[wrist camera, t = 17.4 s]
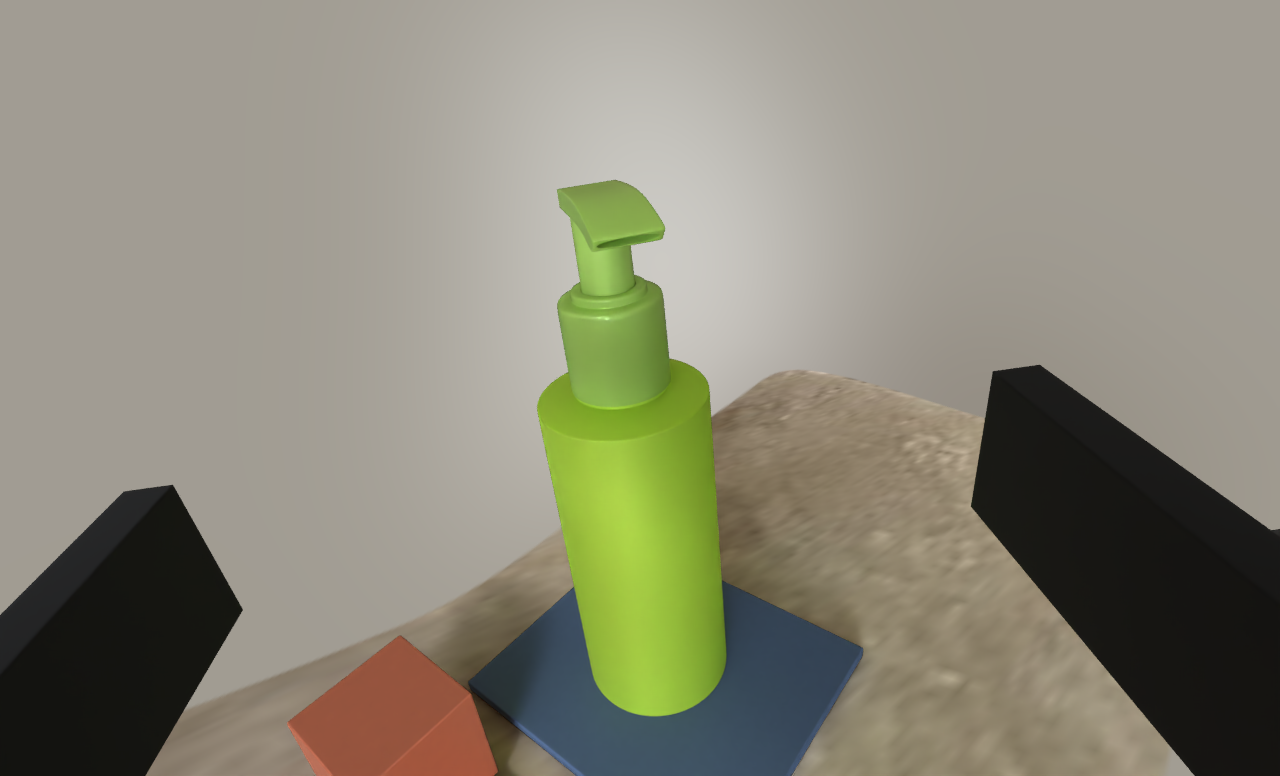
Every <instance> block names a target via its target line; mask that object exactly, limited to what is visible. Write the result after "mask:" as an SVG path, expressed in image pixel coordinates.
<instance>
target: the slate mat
mask: <svg viewBox="0 0 1280 776" xmlns="http://www.w3.org/2000/svg"><path fill="white" fill-rule="evenodd" d="M722 593H723V608H724V623H725V639H726V665H725V669H724V672H723V675H722V677H721V679H720V681H719V683H718V684H717V686H716V687H715V689H714V690H713V691H712V692H711V693H710V694H709V695H708V696H707V697H706V698H705V699H704V700H702V701H701V702H700V703H698V704H697V705H695V706H693V707H691V708H689V709H687V710H685V711H682V712H679V713H676V714H672V715H666V716H643V715H638V714H634V713H631V712H628V711H626V710H623V709H621V708H619V707H618V706H616V705H615V704H613V703H612V702H611V701H609V700H608V699H607V698H606V697H605V696H604V695H603V693H602V692H601V691H600V689H599V688H598V686H597V684H596V682H595V680H594V677H593V674H592V669H591V664H590V660H589V655H588V650H587V645H586V640H585V636H584V631H583V626H582V621H581V617H580V612H579V607H578V602H577V598H576V593H575V588H574V587H573V588H572V589H571V590H570V591H569V592H568V593H567V594H566V595H564V596H563V597H562V598H561V599H560V600H559V601H558V602H557V603H555V604H554V605H553V606H552V607H551V608H550V609H549V610H548V611H547V612H545V613H544V614H543V615H542V616H541V617H540V618H539V619H538V620H537V621H535V622H534V623H533V624H532V625H531V626H530V627H529V628H528V629H527V630H525V631H524V632H523V633H522V634H521V635H520V636H519V637H518V638H517V639H515V640H514V641H513V642H512V643H511V644H510V645H509V646H508V647H506V648H505V649H504V650H503V651H502V652H501V653H500V654H499V655H498V656H496V657H495V658H494V659H493V660H492V661H491V662H490V663H489V664H488V665H486V666H485V667H484V668H483V669H482V670H481V671H480V672H479V673H478V674H476V675H475V676H474V677H473V678H472V679H471V680H470V681H469V682H468V683H469V686H470V689H471V690H472V691H473V692H475V693H476V694H477V695H478V696H479V697H481V698H482V699H483V700H484V701H486V702H487V703H488V704H489V705H490V706H492V707H493V708H494V709H495V710H497V711H498V712H499V713H500V714H501V715H503V716H504V717H505V718H506V719H508V720H509V721H510V722H511V723H512V724H514V725H515V726H516V727H517V728H519V729H520V730H521V731H522V732H524V733H525V734H526V735H527V736H528V737H530V738H531V739H532V740H533V741H535V742H536V743H537V744H538V745H539V746H541V747H542V748H543V749H544V750H546V751H547V752H548V753H549V754H550V755H552V756H553V757H554V758H555V759H557V760H558V761H559V762H560V763H561V764H563V765H564V766H565V767H566V768H568V769H569V770H570V771H571V772H573V773H574V774H575V775H576V776H791V775H792V774H793V772H794V770H795V768H796V767H797V765H798V763H799V762H800V760H801V758H802V757H803V755H804V753H805V752H806V750H807V748H808V747H809V745H810V743H811V742H812V740H813V738H814V737H815V735H816V733H817V731H818V730H819V728H820V726H821V725H822V723H823V721H824V720H825V718H826V716H827V715H828V713H829V711H830V710H831V708H832V706H833V705H834V703H835V701H836V700H837V698H838V696H839V694H840V693H841V691H842V689H843V688H844V686H845V684H846V683H847V681H848V679H849V678H850V676H851V674H852V673H853V671H854V669H855V668H856V666H857V664H858V662H859V661H860V659H861V657H862V656H863V648H862V647H860V646H858V645H856V644H854V643H851V642H849V641H847V640H845V639H843V638H841V637H839V636H837V635H835V634H833V633H831V632H829V631H826V630H824V629H822V628H820V627H818V626H816V625H814V624H812V623H810V622H808V621H806V620H803V619H801V618H799V617H797V616H795V615H793V614H791V613H789V612H787V611H785V610H783V609H781V608H778V607H776V606H774V605H772V604H770V603H768V602H766V601H764V600H762V599H760V598H758V597H755V596H753V595H751V594H749V593H747V592H745V591H743V590H741V589H739V588H737V587H735V586H733V585H730V584H728V583H726V582H724V581H722Z"/></svg>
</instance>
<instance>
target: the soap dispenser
mask: <svg viewBox="0 0 1280 776" xmlns="http://www.w3.org/2000/svg"><path fill="white" fill-rule="evenodd" d="M557 193H558V199H559V205H560V208H561V209H562V210H563V211H564V212H565V213H566V214H567V215H568V216H569V217H570V220H571V227H572V233H573V239H574V246H575V252H576V259H577V265H578V271H579V277H580V282H579V283H578V284H576V285H575V286H573V288H572V289H571V290H570V291H568V292H566V293H565V294H564V295H562V297H561V298H560V299H559V301H558V304H557V309H558V316H559V322H560V327H561V333H562V339H563V344H564V350H565V355H566V360H567V366H568V373H566V374H564V375H562V376H561V377H559V378H558V379H556V380H555V381H554V382H552V383H551V384H550V385H549V386H548V387H547V388H546V389H545V390H544V392H543V393H542V394H541V396H540V398H539V401H538V405H537V411H538V417H539V421H540V426H541V431H542V436H543V440H544V445H545V450H546V455H547V459H548V464H549V468H550V474H551V479H552V483H553V488H554V493H555V497H556V502H557V507H558V512H559V517H560V521H561V526H562V531H563V536H564V540H565V545H566V550H567V555H568V560H569V564H570V569H571V574H572V579H573V583H574V588H575V593H576V598H577V602H578V607H579V612H580V617H581V621H582V626H583V631H584V636H585V640H586V645H587V650H588V655H589V660H590V664H591V669H592V674H593V677H594V680H595V682H596V684H597V686H598V688H599V689H600V691H601V692H602V693H603V695H604V696H605V697H606V698H607V699H608V700H609V701H611V702H612V703H613V704H615V705H616V706H618V707H619V708H621V709H623V710H626V711H628V712H631V713H634V714H638V715H643V716H666V715H672V714H676V713H679V712H682V711H685V710H687V709H689V708H691V707H693V706H695V705H697V704H698V703H700V702H701V701H702V700H704V699H705V698H706V697H707V696H708V695H709V694H710V693H711V692H712V691H713V690H714V689H715V687H716V686H717V684H718V683H719V681H720V679H721V677H722V675H723V672H724V669H725V665H726V639H725V623H724V608H723V593H722V577H721V562H720V546H719V531H718V515H717V500H716V484H715V469H714V454H713V438H712V423H711V408H710V392H709V385H708V382H707V380H706V378H705V377H704V376H703V375H702V374H701V372H699V371H698V370H697V369H695V368H694V367H692V366H690V365H688V364H686V363H683V362H681V361H678V360H674V359H669V352H668V341H667V330H666V320H665V309H664V299H663V293H662V290H661V288H660V287H659V286H658V285H656V284H655V283H653V282H650V281H647V280H644V279H643V278H642V277H639V276H637V275H634V271H633V263H632V255H631V245H635V244H640V243H646V242H651V241H656V240H661V239H662V238H663V235H664V232H665V226H664V224H663V222H662V220H661V219H660V217H659V216H658V214H657V213H656V211H655V210H654V208H653V207H652V205H651V204H650V203H649V201H648V200H647V199H646V198H645V197H644V196H643V194H642V193H640V192H639V191H638V190H637V189H636V188H634V187H633V186H631V185H629V184H627V183H624V182H621V181H617V180H611V181H606V182H599V183H593V184H587V185H580V186H574V187H568V188H562V189H558V190H557Z"/></svg>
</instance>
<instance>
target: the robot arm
mask: <svg viewBox="0 0 1280 776" xmlns="http://www.w3.org/2000/svg"><path fill="white" fill-rule="evenodd" d="M971 507H972V508H973V510H974V511H975V512H976V513H977V514H978V516H979V517H980V518H981V519H982V520H983V522H984V523H985V524H986V525H987V526H988V528H989V529H990V530H991V531H992V532H993V534H994V535H995V536H996V537H997V538H998V540H999V541H1000V542H1001V543H1002V544H1003V546H1004V547H1005V548H1006V549H1007V550H1008V552H1009V553H1010V554H1011V555H1012V556H1013V558H1014V559H1015V560H1016V561H1017V562H1018V564H1019V565H1020V566H1021V567H1022V569H1023V570H1024V571H1025V572H1026V573H1027V575H1028V576H1029V577H1030V578H1031V579H1032V581H1033V582H1034V583H1035V584H1036V585H1037V587H1038V588H1039V589H1040V590H1041V591H1042V593H1043V594H1044V595H1045V596H1046V597H1047V599H1048V600H1049V601H1050V602H1051V603H1052V605H1053V606H1054V607H1055V608H1056V609H1057V611H1058V612H1059V613H1060V614H1061V615H1062V617H1063V618H1064V619H1065V620H1066V621H1067V623H1068V624H1069V625H1070V626H1071V627H1072V629H1073V630H1074V631H1075V632H1076V634H1077V635H1078V636H1079V637H1080V638H1081V640H1082V641H1083V642H1084V643H1085V644H1086V646H1087V647H1088V648H1089V649H1090V650H1091V652H1092V653H1093V654H1094V655H1095V656H1096V658H1097V659H1098V660H1099V661H1100V662H1101V664H1102V665H1103V666H1104V667H1105V668H1106V670H1107V671H1108V672H1109V673H1110V674H1111V676H1112V677H1113V678H1114V679H1115V680H1116V682H1117V683H1118V684H1119V685H1120V686H1121V688H1122V689H1123V690H1124V691H1125V692H1126V694H1127V695H1128V696H1129V697H1130V699H1131V700H1132V701H1133V702H1134V703H1135V705H1136V706H1137V707H1138V708H1139V709H1140V711H1141V712H1142V713H1143V714H1144V715H1145V717H1146V718H1147V719H1148V720H1149V721H1150V723H1151V724H1152V725H1153V726H1154V727H1155V729H1156V730H1157V731H1158V732H1159V733H1160V735H1161V736H1162V737H1163V738H1164V739H1165V741H1166V742H1167V743H1168V744H1169V745H1170V747H1171V748H1172V749H1173V750H1174V751H1175V753H1176V754H1177V755H1178V756H1179V757H1180V759H1181V760H1182V761H1183V762H1184V764H1185V765H1186V766H1187V767H1188V768H1189V770H1190V771H1191V772H1192V773H1193V774H1194V775H1195V776H1280V529H1278V530H1270V529H1268V528H1267V527H1266V526H1264V525H1262V524H1261V523H1260V522H1258V521H1257V520H1256V519H1254V518H1253V517H1252V516H1250V515H1249V514H1247V513H1246V512H1245V511H1243V510H1242V509H1240V508H1239V507H1238V506H1236V505H1235V504H1233V503H1232V502H1231V501H1229V500H1228V499H1226V498H1225V497H1223V496H1222V495H1221V494H1219V493H1218V492H1217V491H1215V490H1214V489H1212V488H1211V487H1209V486H1208V485H1207V484H1205V483H1204V482H1203V481H1201V480H1200V479H1198V478H1197V477H1196V476H1194V475H1193V474H1191V473H1190V472H1189V471H1187V470H1186V469H1184V468H1183V467H1182V466H1180V465H1179V464H1177V463H1176V462H1175V461H1173V460H1172V459H1170V458H1169V457H1168V456H1166V455H1165V454H1163V453H1162V452H1161V451H1159V450H1158V449H1157V448H1155V447H1154V446H1152V445H1151V444H1150V443H1148V442H1147V441H1145V440H1144V439H1143V438H1141V437H1140V436H1138V435H1137V434H1136V433H1134V432H1133V431H1131V430H1130V429H1129V428H1127V427H1126V426H1124V425H1123V424H1122V423H1120V422H1119V421H1117V420H1116V419H1115V418H1113V417H1112V416H1110V415H1109V414H1108V413H1106V412H1105V411H1103V410H1102V409H1101V408H1099V407H1098V406H1096V405H1095V404H1093V403H1092V402H1091V401H1089V400H1088V399H1087V398H1085V397H1084V396H1082V395H1081V394H1080V393H1078V392H1077V391H1075V390H1074V389H1073V388H1071V387H1070V386H1068V385H1067V384H1065V383H1064V382H1063V381H1061V380H1060V379H1059V378H1057V377H1056V376H1054V375H1053V374H1052V373H1050V372H1049V371H1048V370H1046V369H1045V368H1043V367H1042V366H1041V365H1035V366H1029V367H1021V368H1013V369H1006V370H1000V371H993V374H992V380H991V386H990V392H989V398H988V405H987V411H986V417H985V423H984V429H983V435H982V441H981V448H980V454H979V460H978V466H977V472H976V478H975V485H974V491H973V497H972V503H971ZM242 610H243V609H242V607H241V606H240V604H239V602H238V600H237V598H236V597H235V595H234V593H233V591H232V590H231V588H230V586H229V585H228V582H227V581H226V579H225V577H224V575H223V573H222V572H221V570H220V568H219V566H218V565H217V563H216V561H215V559H214V557H213V556H212V554H211V552H210V550H209V548H208V547H207V545H206V543H205V541H204V539H203V538H202V536H201V534H200V532H199V531H198V529H197V527H196V525H195V523H194V522H193V520H192V518H191V516H190V515H189V513H188V511H187V509H186V507H185V506H184V504H183V502H182V500H181V498H180V497H179V495H178V493H177V491H176V490H175V488H174V486H173V485H169V486H161V487H154V488H146V489H140V490H132V491H125V492H123V493H122V494H121V495H120V496H119V497H118V498H117V499H116V500H115V501H114V502H113V503H112V504H111V505H110V506H109V507H108V508H107V509H106V510H105V511H104V512H103V513H102V514H101V515H100V516H99V517H98V518H97V519H96V520H95V521H94V522H93V523H92V524H91V525H90V526H89V527H88V528H87V529H86V530H85V531H84V532H83V533H82V534H81V535H80V536H79V537H78V538H77V539H76V540H75V541H74V542H73V543H72V544H71V545H70V546H69V547H68V548H67V549H66V550H65V551H64V552H63V553H62V554H61V555H60V556H59V557H58V558H57V559H56V560H55V561H54V562H53V563H52V564H51V565H50V566H49V567H48V568H47V569H46V570H45V571H44V572H43V573H42V574H41V575H40V576H39V577H38V578H37V579H36V580H35V581H34V582H33V583H32V584H31V585H30V586H29V587H28V588H27V589H26V590H25V591H24V592H23V593H22V594H21V595H20V596H19V597H18V598H17V599H16V600H15V601H14V602H13V603H12V604H11V605H10V606H9V607H8V608H7V609H6V610H5V611H4V612H3V613H2V614H1V615H0V776H145V775H146V774H147V772H148V770H149V769H150V767H151V765H152V764H153V762H154V760H155V758H156V757H157V755H158V753H159V752H160V750H161V748H162V747H163V745H164V743H165V741H166V740H167V738H168V736H169V735H170V733H171V731H172V730H173V728H174V726H175V724H176V723H177V721H178V719H179V718H180V716H181V714H182V713H183V711H184V709H185V707H186V706H187V704H188V702H189V700H190V699H191V697H192V695H193V694H194V692H195V690H196V689H197V687H198V685H199V683H200V682H201V680H202V678H203V677H204V675H205V673H206V672H207V670H208V668H209V667H210V665H211V663H212V661H213V660H214V658H215V656H216V655H217V653H218V651H219V650H220V648H221V646H222V644H223V643H224V641H225V639H226V638H227V636H228V634H229V632H230V631H231V629H232V627H233V626H234V624H235V622H236V621H237V619H238V617H239V616H240V614H241V612H242Z"/></svg>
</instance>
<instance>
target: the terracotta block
mask: <svg viewBox="0 0 1280 776" xmlns="http://www.w3.org/2000/svg"><path fill="white" fill-rule="evenodd" d="M287 725H288V727H289V729H290V730H291V732H292V734H293V736H294V737H295V739H296V741H297V743H298V744H299V746H300V748H301V750H302V751H303V753H304V755H305V757H306V758H307V760H308V762H309V764H310V765H311V767H312V769H313V771H314V772H315V774H316V776H494V775H495V774H496V773H497V772H498V769H497V766H496V763H495V760H494V757H493V754H492V751H491V749H490V746H489V743H488V740H487V737H486V734H485V731H484V729H483V726H482V723H481V720H480V717H479V714H478V711H477V708H476V706H475V703H474V700H473V697H472V694H471V693H470V692H469V691H468V690H467V689H465V688H464V687H463V686H462V685H460V684H459V683H458V682H457V681H456V680H454V679H453V678H452V677H451V676H449V675H448V674H447V673H446V672H445V671H443V670H442V669H441V668H440V667H439V666H437V665H436V664H435V663H434V662H432V661H431V660H430V659H429V658H428V657H426V656H425V655H424V654H423V653H421V652H420V651H419V650H418V649H417V648H415V647H414V646H413V645H412V644H411V643H409V642H408V641H407V640H406V639H404V638H403V637H402V636H398V637H397V638H395V639H394V640H393V641H392V642H390V643H389V644H388V645H386V646H385V647H384V648H382V649H381V650H380V651H379V652H377V653H376V654H375V655H373V656H372V657H371V658H370V659H368V660H367V661H366V662H364V663H363V664H362V665H361V666H359V667H358V668H357V669H355V670H354V671H353V672H352V673H350V674H349V675H348V676H346V677H345V678H344V679H342V680H341V681H340V682H339V683H337V684H336V685H335V686H333V687H332V688H331V689H330V690H328V691H327V692H326V693H324V694H323V695H322V696H321V697H319V698H318V699H317V700H315V701H314V702H313V703H312V704H310V705H309V706H308V707H306V708H305V709H304V710H303V711H301V712H300V713H299V714H297V715H296V716H295V717H293V718H292V719H291V720H290V721H288V723H287Z"/></svg>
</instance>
